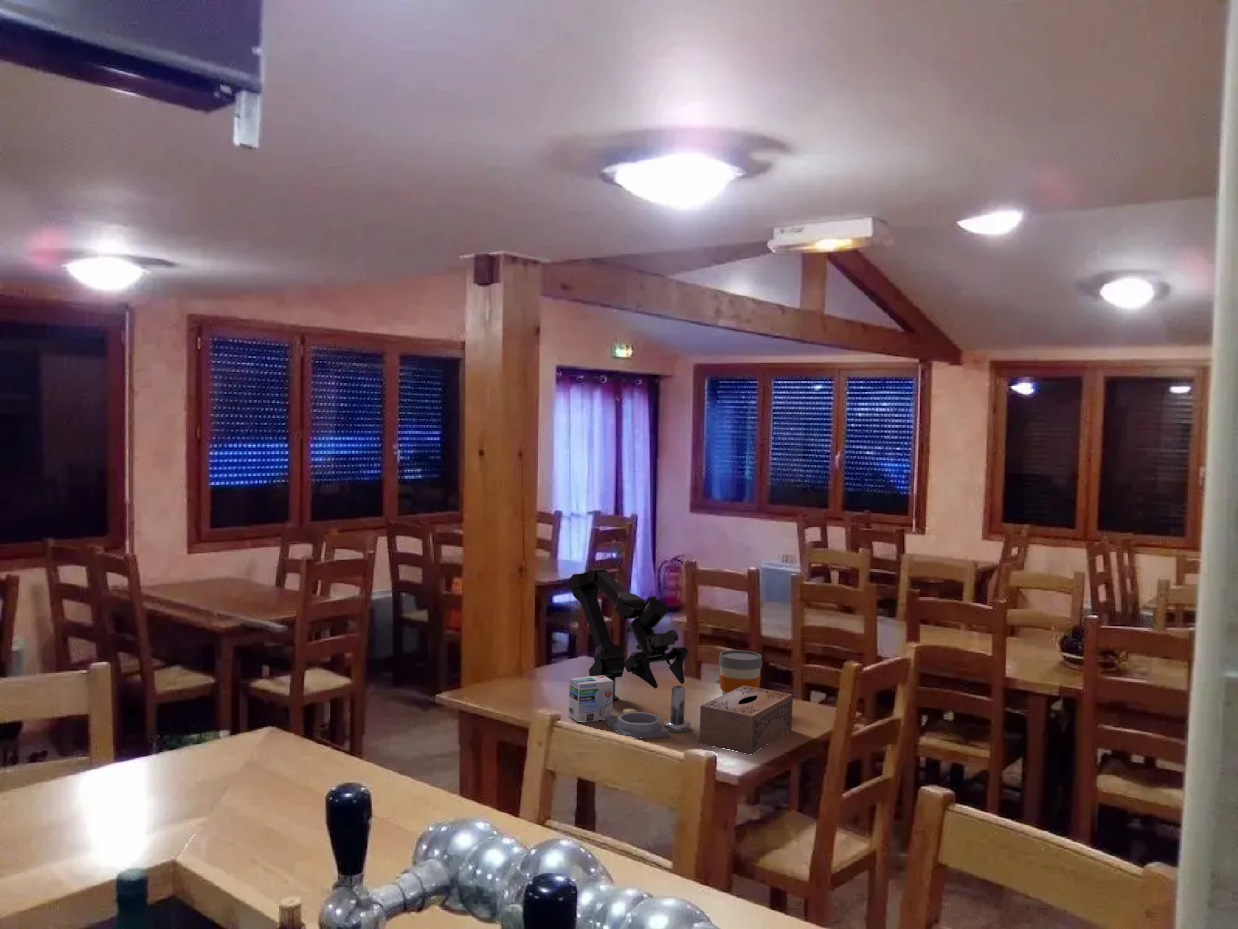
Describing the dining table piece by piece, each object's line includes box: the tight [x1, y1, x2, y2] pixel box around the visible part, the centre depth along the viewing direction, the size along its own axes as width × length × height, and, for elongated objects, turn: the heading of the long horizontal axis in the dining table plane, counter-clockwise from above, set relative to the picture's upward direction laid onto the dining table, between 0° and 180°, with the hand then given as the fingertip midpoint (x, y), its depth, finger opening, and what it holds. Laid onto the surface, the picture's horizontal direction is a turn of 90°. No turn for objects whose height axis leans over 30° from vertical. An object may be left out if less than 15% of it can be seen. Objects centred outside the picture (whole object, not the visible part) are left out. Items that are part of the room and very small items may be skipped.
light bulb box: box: [568, 675, 614, 723], centre depth 275 cm, size 11×7×11 cm, turn 117°
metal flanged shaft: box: [663, 685, 691, 733], centre depth 269 cm, size 7×7×11 cm
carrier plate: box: [603, 708, 670, 740], centre depth 267 cm, size 16×12×4 cm
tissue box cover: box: [698, 685, 794, 755], centre depth 264 cm, size 26×14×10 cm, turn 148°
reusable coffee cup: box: [718, 649, 763, 696], centre depth 292 cm, size 13×12×15 cm
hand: (670, 685), depth 271 cm, fingers open, 9 cm apart
